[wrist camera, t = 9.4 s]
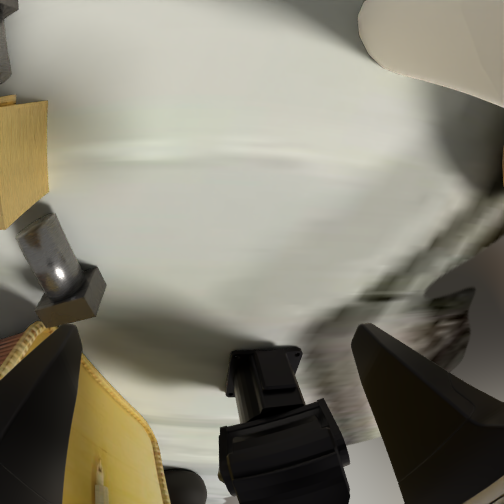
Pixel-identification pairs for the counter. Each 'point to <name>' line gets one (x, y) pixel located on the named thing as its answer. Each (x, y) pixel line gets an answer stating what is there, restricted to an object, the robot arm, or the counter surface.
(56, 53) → the counter surface
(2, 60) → the shaft
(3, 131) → the tan block
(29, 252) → the shaft
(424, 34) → the foam cup
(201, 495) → the cola bottle
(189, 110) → the counter surface
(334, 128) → the counter surface
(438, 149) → the counter surface
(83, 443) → the picnic basket
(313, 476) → the robot arm
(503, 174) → the cantaloupe
